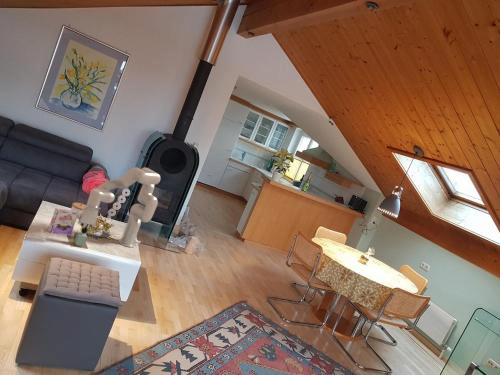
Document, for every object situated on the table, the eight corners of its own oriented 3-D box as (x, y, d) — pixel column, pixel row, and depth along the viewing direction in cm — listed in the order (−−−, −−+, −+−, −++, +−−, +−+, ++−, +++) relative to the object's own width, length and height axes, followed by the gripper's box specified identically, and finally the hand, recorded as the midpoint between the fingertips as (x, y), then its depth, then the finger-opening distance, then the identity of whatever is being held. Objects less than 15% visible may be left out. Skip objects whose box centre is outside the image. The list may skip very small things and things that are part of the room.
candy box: (49, 233, 257) (57, 210, 255) (47, 229, 261) (55, 207, 259) (70, 235, 267) (78, 214, 265) (68, 232, 271) (76, 210, 269)
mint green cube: (82, 242, 260) (85, 233, 259) (83, 245, 256) (87, 236, 255) (74, 241, 256) (77, 232, 256) (75, 244, 252) (78, 235, 252)
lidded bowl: (66, 212, 306) (71, 199, 304) (82, 214, 315) (87, 201, 313) (71, 218, 297) (76, 205, 296) (87, 220, 306) (92, 207, 304)
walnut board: (82, 238, 271) (84, 232, 270) (87, 249, 256) (90, 243, 256) (66, 235, 264) (68, 229, 263) (70, 247, 250) (72, 240, 249)
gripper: (102, 207, 260) (93, 232, 263) (79, 203, 251) (70, 228, 254) (104, 211, 254) (96, 237, 257) (81, 207, 245) (72, 233, 248)
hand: (83, 232), depth 255 cm, fingers closed
